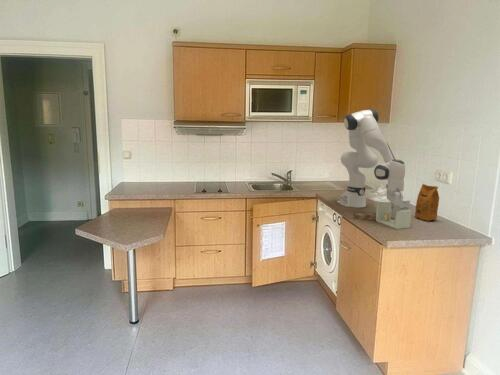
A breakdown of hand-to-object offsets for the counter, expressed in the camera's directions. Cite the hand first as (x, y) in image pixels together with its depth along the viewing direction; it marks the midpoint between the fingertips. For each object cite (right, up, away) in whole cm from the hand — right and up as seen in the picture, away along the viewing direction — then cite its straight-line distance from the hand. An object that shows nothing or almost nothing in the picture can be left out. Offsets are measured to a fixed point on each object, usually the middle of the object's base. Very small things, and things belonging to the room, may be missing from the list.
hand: (393, 210), depth 213 cm
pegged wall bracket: (0, -9, +1) cm, 9 cm away
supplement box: (+10, -7, +15) cm, 19 cm away
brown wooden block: (-13, -7, +11) cm, 18 cm away
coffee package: (+27, -7, +16) cm, 32 cm away
